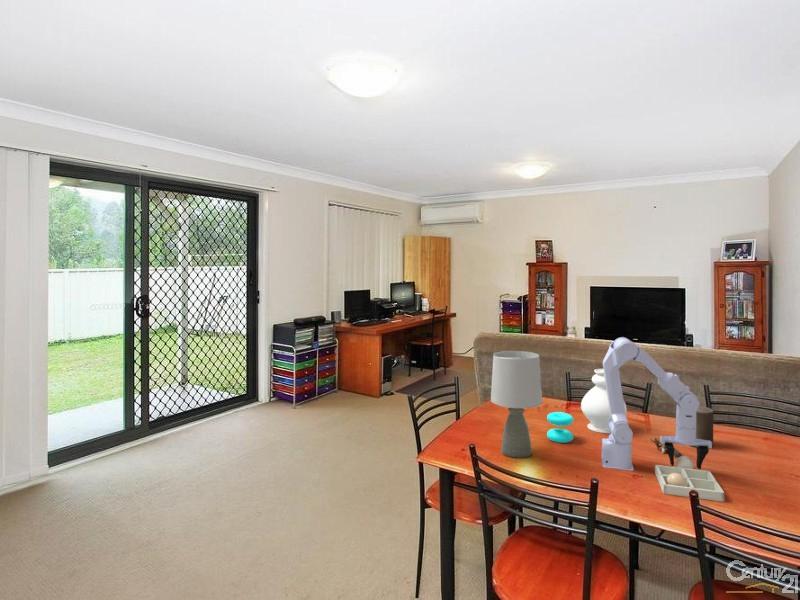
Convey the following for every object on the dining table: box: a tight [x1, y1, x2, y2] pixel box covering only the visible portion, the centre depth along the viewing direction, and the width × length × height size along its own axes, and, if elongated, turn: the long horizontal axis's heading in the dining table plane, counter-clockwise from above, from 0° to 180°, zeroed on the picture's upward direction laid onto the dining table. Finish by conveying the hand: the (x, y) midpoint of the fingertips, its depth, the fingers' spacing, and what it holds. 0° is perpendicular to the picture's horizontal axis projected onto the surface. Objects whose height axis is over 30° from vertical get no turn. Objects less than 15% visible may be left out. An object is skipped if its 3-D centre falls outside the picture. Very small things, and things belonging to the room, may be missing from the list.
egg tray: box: [654, 464, 725, 503], centre depth 142 cm, size 15×15×3 cm
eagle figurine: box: [649, 437, 682, 458], centre depth 169 cm, size 8×7×9 cm
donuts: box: [546, 411, 574, 444], centre depth 184 cm, size 10×10×10 cm
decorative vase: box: [580, 368, 628, 434], centre depth 196 cm, size 18×18×25 cm
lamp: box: [490, 350, 543, 459], centre depth 171 cm, size 19×19×37 cm
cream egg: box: [676, 455, 695, 469], centre depth 154 cm, size 5×5×5 cm
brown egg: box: [667, 473, 686, 487], centre depth 140 cm, size 5×5×5 cm
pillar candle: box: [693, 405, 715, 448], centre depth 177 cm, size 10×10×15 cm
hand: (685, 466), depth 154 cm, fingers open, 7 cm apart
